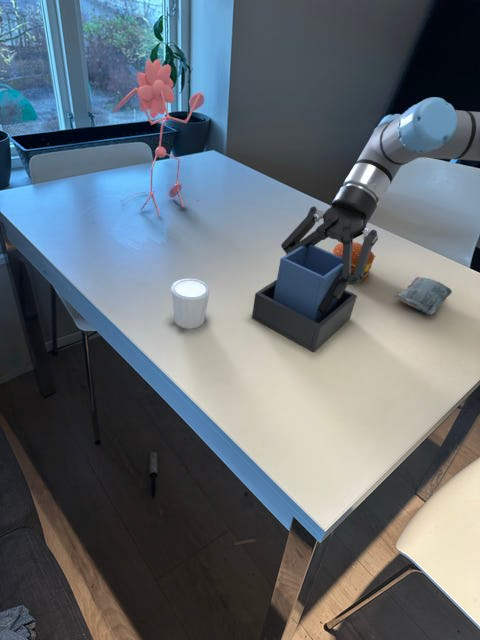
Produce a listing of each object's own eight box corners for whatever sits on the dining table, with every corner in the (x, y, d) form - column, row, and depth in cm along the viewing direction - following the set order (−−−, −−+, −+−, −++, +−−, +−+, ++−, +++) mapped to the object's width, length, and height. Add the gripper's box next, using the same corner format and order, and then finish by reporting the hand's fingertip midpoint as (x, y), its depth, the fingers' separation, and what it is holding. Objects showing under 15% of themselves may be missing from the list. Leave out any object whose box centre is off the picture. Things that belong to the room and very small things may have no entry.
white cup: (191, 304, 88) (193, 273, 83) (215, 321, 84) (217, 290, 80) (163, 317, 83) (163, 285, 79) (186, 335, 80) (187, 304, 76)
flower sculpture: (206, 200, 129) (214, 62, 108) (137, 226, 112) (131, 68, 90) (168, 184, 135) (168, 51, 114) (98, 206, 118) (83, 54, 97)
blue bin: (335, 309, 87) (349, 260, 81) (311, 329, 81) (324, 278, 75) (296, 290, 91) (307, 242, 85) (271, 308, 85) (280, 258, 79)
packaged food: (390, 305, 95) (397, 285, 92) (411, 284, 102) (418, 266, 99) (429, 323, 91) (439, 304, 88) (448, 301, 99) (457, 282, 96)
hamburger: (371, 268, 107) (380, 243, 103) (363, 287, 100) (371, 261, 96) (334, 256, 109) (340, 232, 105) (323, 274, 102) (329, 248, 98)
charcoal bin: (349, 319, 89) (357, 295, 86) (313, 352, 80) (320, 327, 76) (291, 290, 95) (296, 266, 92) (251, 317, 86) (255, 293, 83)
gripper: (416, 224, 81) (354, 331, 80) (314, 187, 91) (258, 282, 90) (415, 204, 74) (347, 320, 74) (305, 167, 84) (244, 269, 83)
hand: (298, 299), depth 82 cm, fingers closed on blue bin, 9 cm apart
